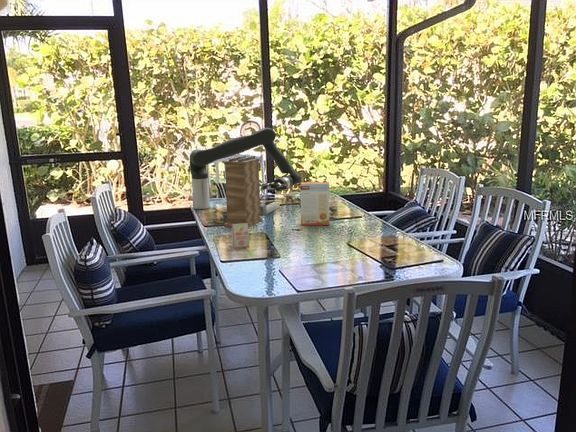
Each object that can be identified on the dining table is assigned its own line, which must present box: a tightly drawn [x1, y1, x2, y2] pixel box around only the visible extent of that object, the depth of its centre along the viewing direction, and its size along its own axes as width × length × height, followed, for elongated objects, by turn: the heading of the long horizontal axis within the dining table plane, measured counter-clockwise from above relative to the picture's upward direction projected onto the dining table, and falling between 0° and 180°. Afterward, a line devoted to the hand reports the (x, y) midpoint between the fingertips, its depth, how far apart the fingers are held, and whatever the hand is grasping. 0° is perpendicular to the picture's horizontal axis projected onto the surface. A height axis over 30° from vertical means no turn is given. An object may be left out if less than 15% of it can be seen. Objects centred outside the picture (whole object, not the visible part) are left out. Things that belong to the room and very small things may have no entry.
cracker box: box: [300, 181, 330, 226], centre depth 245 cm, size 14×6×21 cm, turn 84°
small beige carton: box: [230, 223, 250, 249], centre depth 210 cm, size 4×7×10 cm, turn 105°
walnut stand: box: [223, 155, 264, 229], centre depth 247 cm, size 18×12×33 cm, turn 157°
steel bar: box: [260, 201, 281, 217], centre depth 277 cm, size 22×4×5 cm, turn 157°
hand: (269, 188), depth 276 cm, fingers open, 8 cm apart
